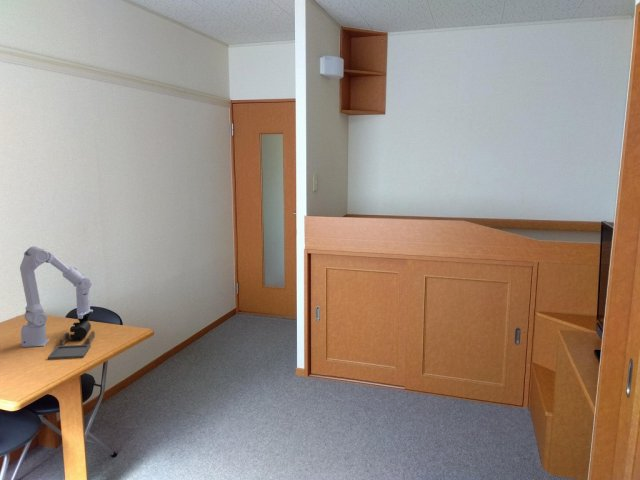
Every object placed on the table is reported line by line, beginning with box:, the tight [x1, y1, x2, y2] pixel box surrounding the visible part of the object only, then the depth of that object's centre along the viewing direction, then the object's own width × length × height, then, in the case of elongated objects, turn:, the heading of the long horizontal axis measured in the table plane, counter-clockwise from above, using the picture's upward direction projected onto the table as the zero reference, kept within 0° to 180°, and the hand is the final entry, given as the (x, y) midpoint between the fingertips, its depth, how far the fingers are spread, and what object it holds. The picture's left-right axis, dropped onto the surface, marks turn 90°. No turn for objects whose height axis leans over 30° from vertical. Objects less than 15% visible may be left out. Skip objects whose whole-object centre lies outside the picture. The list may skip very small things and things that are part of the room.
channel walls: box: [59, 331, 96, 346], centre depth 229 cm, size 12×10×3 cm
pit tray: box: [47, 343, 92, 360], centre depth 217 cm, size 14×13×1 cm
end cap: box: [69, 320, 92, 342], centre depth 235 cm, size 10×7×7 cm
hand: (84, 328), depth 242 cm, fingers closed
